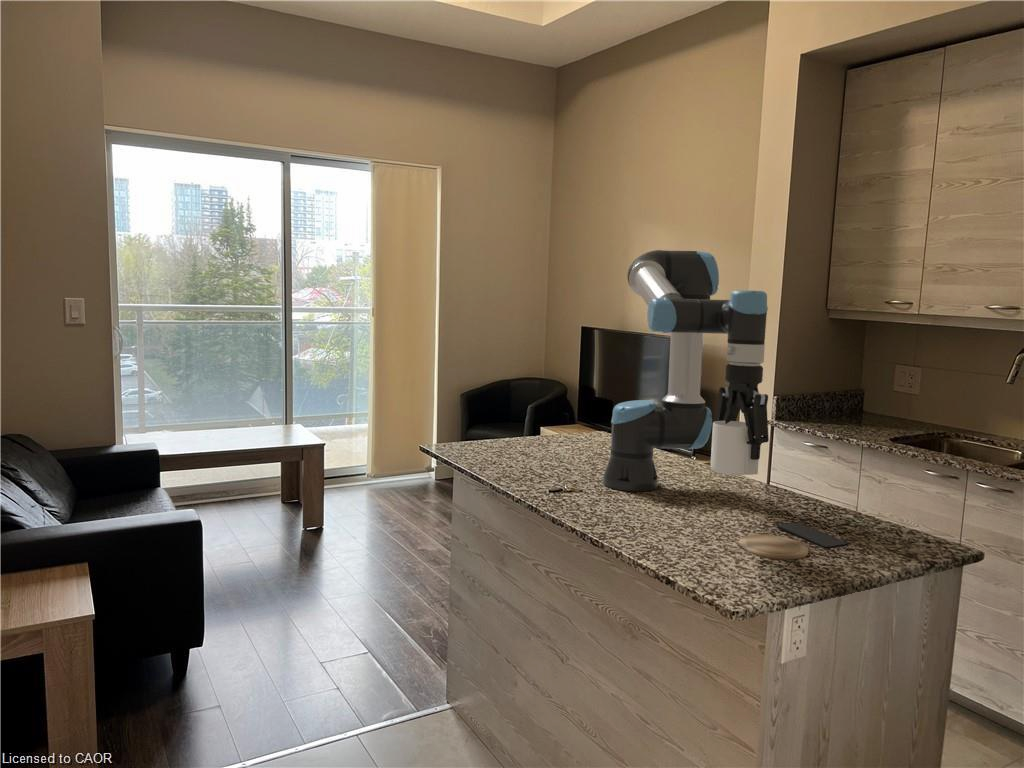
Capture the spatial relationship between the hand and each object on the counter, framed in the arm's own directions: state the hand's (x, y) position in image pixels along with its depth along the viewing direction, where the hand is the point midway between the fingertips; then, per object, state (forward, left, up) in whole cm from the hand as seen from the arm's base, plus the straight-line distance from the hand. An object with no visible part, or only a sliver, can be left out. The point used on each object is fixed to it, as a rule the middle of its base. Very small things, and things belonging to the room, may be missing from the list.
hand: (738, 469), depth 158 cm
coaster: (+6, +6, -16) cm, 18 cm away
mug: (0, 0, -1) cm, 1 cm away
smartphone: (+2, +20, -17) cm, 26 cm away
